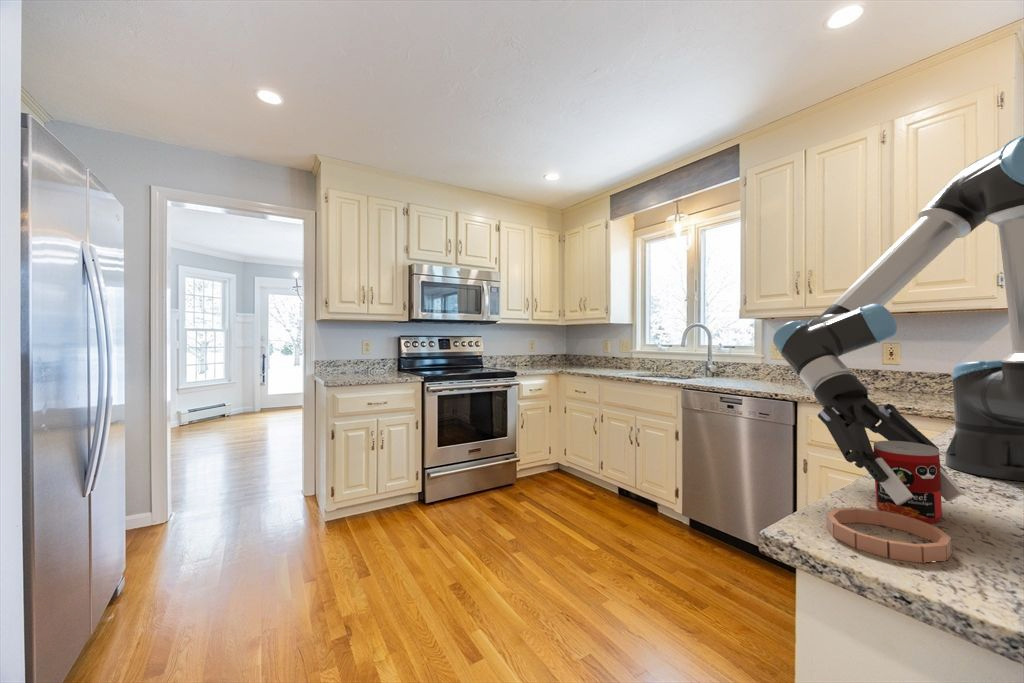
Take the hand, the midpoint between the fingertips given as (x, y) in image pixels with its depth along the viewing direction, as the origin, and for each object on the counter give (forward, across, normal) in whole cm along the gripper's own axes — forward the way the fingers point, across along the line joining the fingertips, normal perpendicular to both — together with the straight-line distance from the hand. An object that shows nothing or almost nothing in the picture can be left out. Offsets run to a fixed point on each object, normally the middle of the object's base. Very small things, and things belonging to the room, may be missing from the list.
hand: (930, 498), depth 63 cm
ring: (+5, +12, 0) cm, 13 cm away
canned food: (0, 0, -5) cm, 5 cm away
